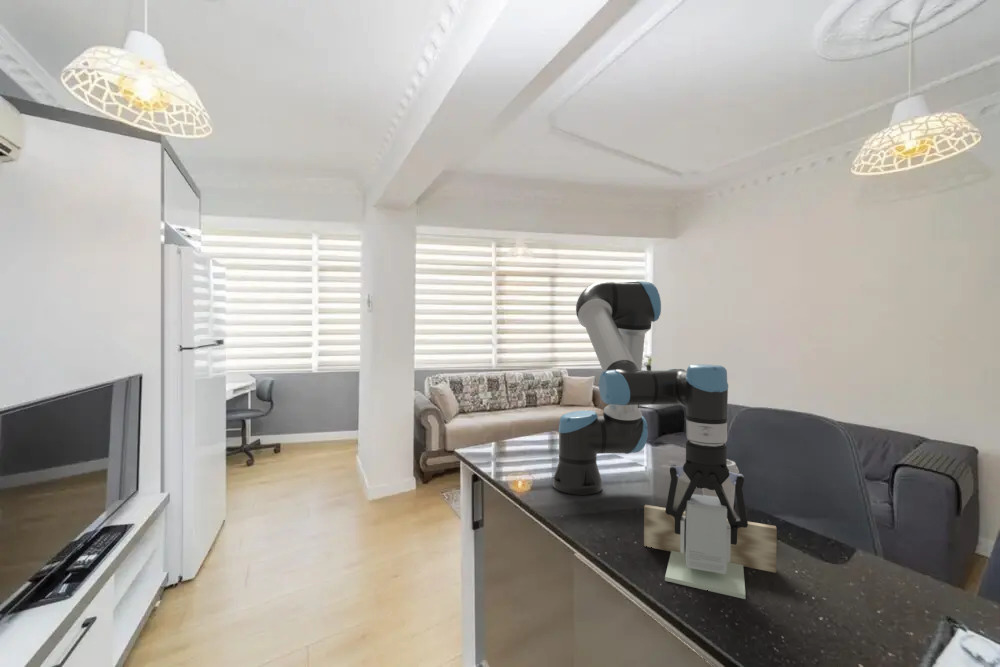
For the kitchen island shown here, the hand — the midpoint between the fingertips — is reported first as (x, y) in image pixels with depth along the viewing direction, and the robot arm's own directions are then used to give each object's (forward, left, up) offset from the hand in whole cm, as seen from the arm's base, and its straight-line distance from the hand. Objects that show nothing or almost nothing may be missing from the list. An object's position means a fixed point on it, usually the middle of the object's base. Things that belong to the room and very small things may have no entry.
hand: (705, 554), depth 93 cm
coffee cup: (+2, +32, -4) cm, 32 cm away
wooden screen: (0, +8, -4) cm, 9 cm away
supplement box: (0, 0, -2) cm, 2 cm away
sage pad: (0, 0, -4) cm, 4 cm away
